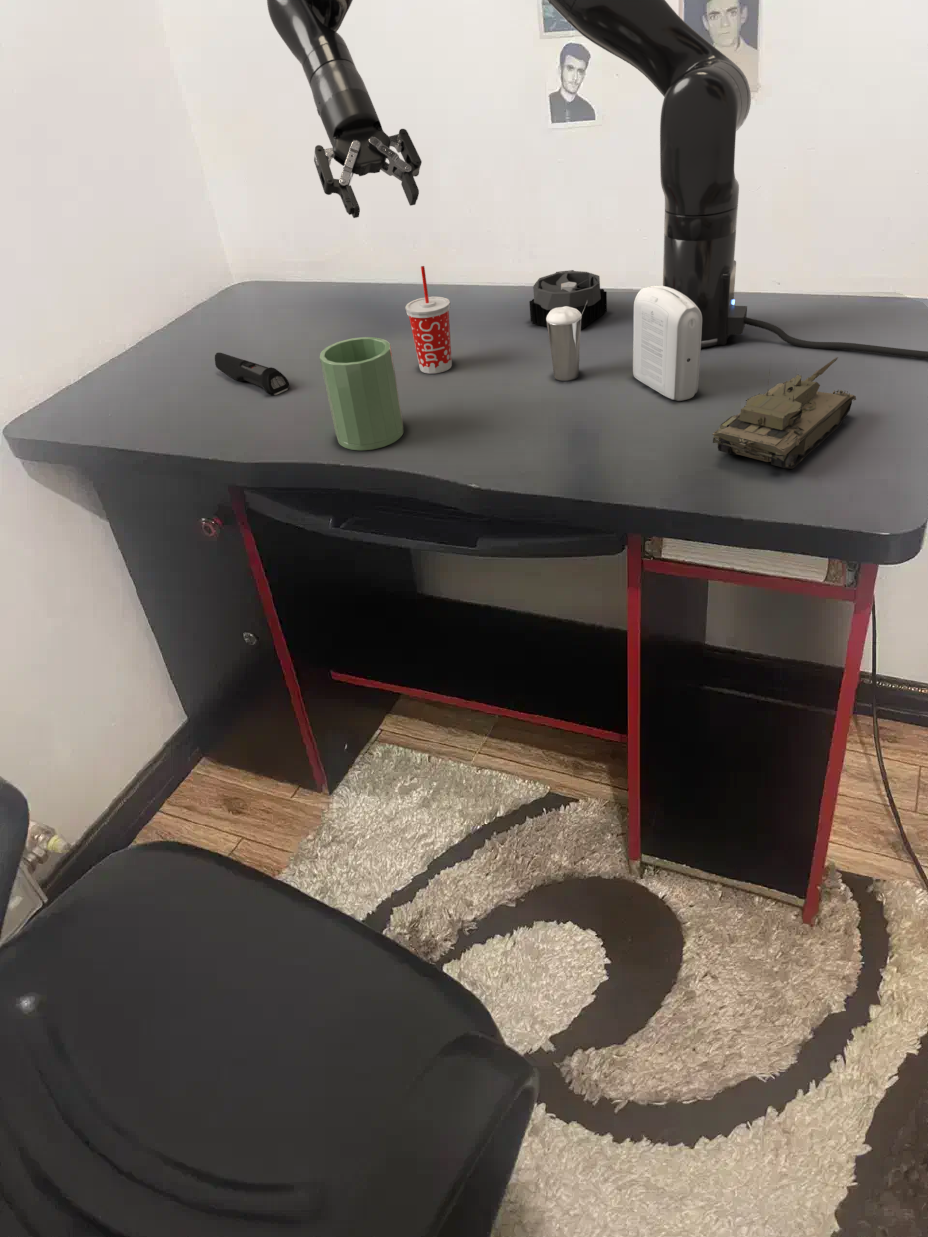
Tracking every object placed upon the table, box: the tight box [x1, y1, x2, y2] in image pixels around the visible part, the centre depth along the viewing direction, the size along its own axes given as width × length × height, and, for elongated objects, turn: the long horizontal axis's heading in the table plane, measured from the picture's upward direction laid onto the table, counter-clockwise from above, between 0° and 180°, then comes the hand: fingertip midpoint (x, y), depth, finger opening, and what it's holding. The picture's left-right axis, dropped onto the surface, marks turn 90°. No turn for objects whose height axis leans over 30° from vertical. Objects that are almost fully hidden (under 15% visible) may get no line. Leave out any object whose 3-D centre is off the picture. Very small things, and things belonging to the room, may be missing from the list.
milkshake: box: [546, 300, 588, 382], centre depth 120 cm, size 4×5×10 cm
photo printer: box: [632, 284, 702, 402], centre depth 113 cm, size 10×4×12 cm, turn 25°
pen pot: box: [319, 336, 405, 451], centre depth 112 cm, size 8×8×11 cm
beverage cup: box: [404, 265, 453, 374], centre depth 126 cm, size 6×6×14 cm
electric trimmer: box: [214, 352, 291, 396], centre depth 133 cm, size 4×16×3 cm, turn 45°
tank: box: [711, 356, 857, 470], centre depth 100 cm, size 9×22×10 cm, turn 138°
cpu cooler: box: [528, 269, 608, 330], centre depth 138 cm, size 10×6×10 cm
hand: (385, 207), depth 127 cm, fingers open, 8 cm apart
